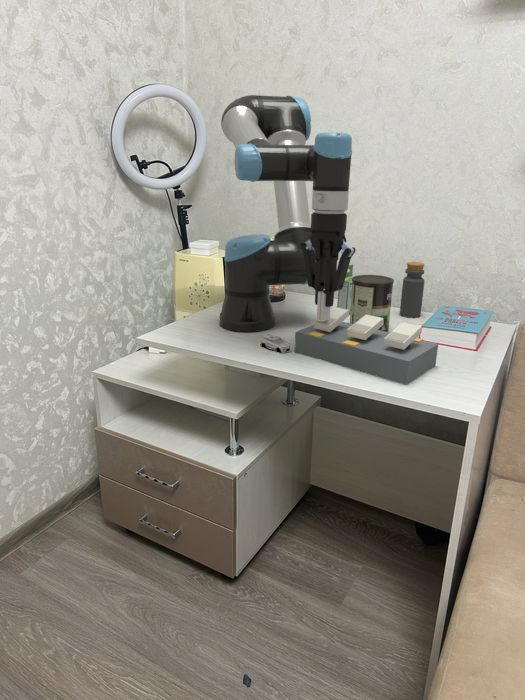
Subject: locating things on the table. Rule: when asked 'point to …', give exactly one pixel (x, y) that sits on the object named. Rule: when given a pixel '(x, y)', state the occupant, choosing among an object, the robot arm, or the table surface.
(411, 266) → the bottle
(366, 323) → the rocker mid
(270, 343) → the toy car
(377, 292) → the coffee can
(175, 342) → the table surface
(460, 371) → the table surface
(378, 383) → the table surface
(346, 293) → the ink box
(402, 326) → the rocker right
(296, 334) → the switch unit
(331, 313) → the rocker left
